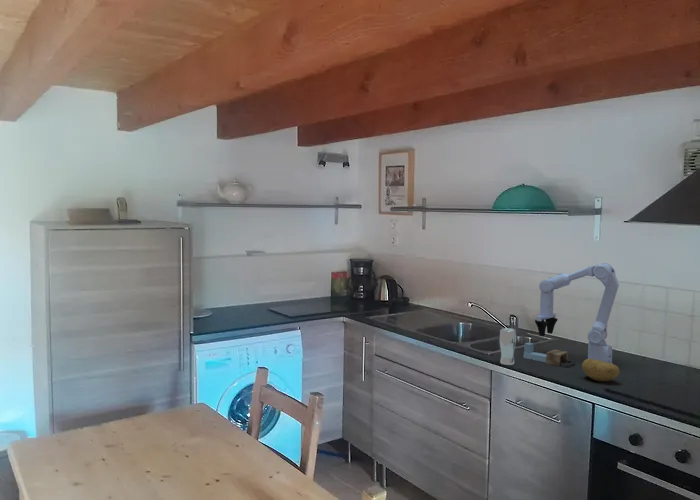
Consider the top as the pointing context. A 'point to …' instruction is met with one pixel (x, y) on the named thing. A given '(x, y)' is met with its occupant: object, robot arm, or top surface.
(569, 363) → the pit
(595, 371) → the potato
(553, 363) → the tunnel
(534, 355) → the blue l-shaped block
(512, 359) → the beer glass
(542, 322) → the robot arm
